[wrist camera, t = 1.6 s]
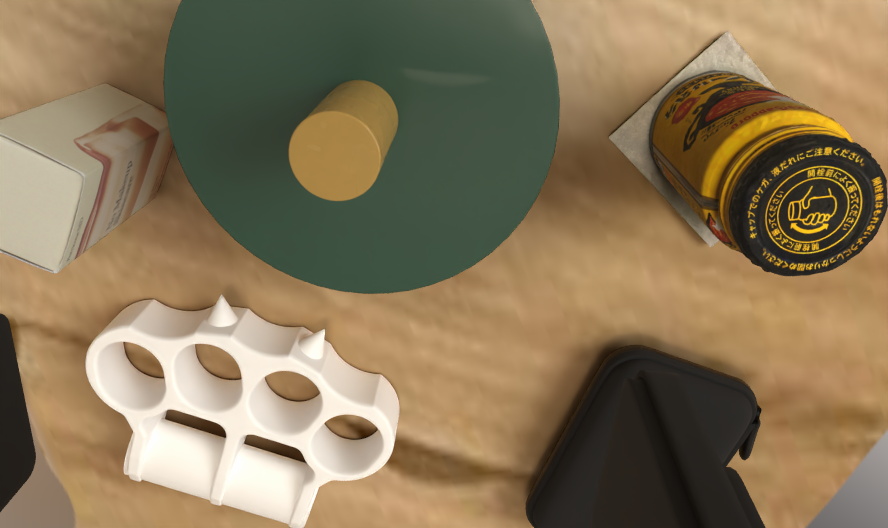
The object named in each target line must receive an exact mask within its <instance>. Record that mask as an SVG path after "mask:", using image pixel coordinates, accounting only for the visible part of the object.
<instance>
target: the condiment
mask: <svg viewBox="0 0 888 528" xmlns="http://www.w3.org/2000/svg"><path fill="white" fill-rule="evenodd" d="M608 138H609V139H610V140H611V141H612V142H613V143H614V144H615V145H616V146H617V147H618V148H619V149H620V151H621V152H622V153H623V154H624V155H625V156H626V157H627V158H628V159H629V160H630V161H631V162H632V163H633V164H634V165H635V166H636V168H637V169H638V170H639V171H640V172H641V173H642V174H643V175H644V176H645V177H646V178H647V179H648V180H649V182H650V183H651V184H652V185H653V186H654V187H655V188H656V189H657V190H658V191H659V192H660V193H661V195H662V196H663V197H664V198H665V199H666V200H667V201H668V202H669V203H670V204H671V205H672V206H673V207H674V208H675V210H676V211H677V212H678V213H679V214H680V215H681V216H682V217H683V218H684V219H685V220H686V221H687V223H688V224H689V225H690V226H691V227H692V228H693V229H694V230H695V231H696V232H697V233H698V234H699V235H700V237H701V238H702V239H703V240H704V241H705V242H706V243H707V244H708V245H709V246H710V247H712V246H713V245H714V244H716V243H717V242H718V241H719V240H720V241H721V242H722V243H724V244H725V245H726V246H728V247H729V248H731V249H733V250H736V251H739V252H741V253H743V254H744V255H745V256H746V257H747V258H748V259H750V260H751V262H752V264H755V265H757V266H760V267H761V268H762V269H763V270H764V271H766V272H772V273H774V274H778V275H782V276H800V275H811V274H816V273H821V272H827V271H830V270H833V269H835V268H836V267H838V266H840V265H842V264H844V263H845V262H847V261H848V260H849V259H851V258H852V257H854V256H855V255H857V254H859V253H860V252H861V251H862V250H863V248H864V247H865V246H866V245H867V244H868V243H869V242H870V241H871V240H872V239H873V238H874V236H875V235H876V234H877V232H878V229H879V227H880V225H881V223H882V221H883V218H884V216H885V214H886V211H887V207H888V204H887V187H886V183H887V180H886V177H885V175H884V173H883V171H882V169H881V168H880V165H879V164H877V162H876V160H875V159H874V158H872V156H871V153H869V152H868V151H867V150H866V149H865V148H862V147H861V146H860V145H859V144H857V143H854V142H853V140H852V138H851V137H850V135H849V134H848V133H847V131H846V130H845V129H844V128H843V127H842V126H841V125H839V124H838V123H837V122H836V121H835V120H834V119H832V118H830V117H827V116H825V115H823V114H821V113H820V112H818V111H817V110H815V109H813V108H810V107H809V106H806V105H805V104H802V103H800V102H797V101H795V100H793V99H791V98H789V97H788V96H786V95H782V94H780V93H779V92H778V91H777V90H776V89H775V88H774V87H773V85H772V84H771V83H770V82H769V80H768V79H767V78H766V77H765V75H764V74H763V73H762V72H761V71H760V69H759V68H758V67H757V66H756V65H755V63H754V62H753V61H752V60H751V59H750V57H749V56H748V55H747V53H746V52H745V51H744V50H743V49H742V48H741V46H740V45H739V44H738V43H737V41H736V40H735V39H734V38H733V36H732V35H731V34H730V32H729V31H727V32H725V33H724V34H723V35H722V36H721V37H720V38H719V39H718V40H716V41H715V42H714V43H713V44H712V45H711V46H710V47H709V48H707V49H706V50H705V51H704V52H703V53H702V54H701V55H699V56H698V57H697V58H696V59H695V60H693V61H692V62H691V63H690V64H689V65H688V66H687V67H685V68H684V69H683V70H682V71H681V72H680V73H679V74H678V75H677V76H675V77H674V78H673V79H672V80H671V81H670V82H669V83H668V84H666V85H665V86H664V87H663V88H662V89H661V90H660V91H659V92H658V93H657V94H655V95H654V96H653V97H652V98H651V99H650V100H649V101H648V102H647V103H646V104H644V105H643V106H642V107H641V108H640V109H639V110H638V111H637V112H636V113H635V114H634V115H633V116H632V117H631V118H630V119H628V120H627V121H626V122H625V123H624V124H623V125H622V126H621V127H620V128H618V129H617V130H616V131H615V132H614V133H613V134H612V135H610V136H609V137H608Z"/></svg>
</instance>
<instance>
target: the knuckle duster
mask: <svg viewBox="0 0 888 528" xmlns="http://www.w3.org/2000/svg"><path fill="white" fill-rule="evenodd" d="M324 336H325V329H323V330H321V331H318V332H316V333H312V332H311V331H309V330H307V329H306V328H304V327H283V326H278V325H275V324H272V323H269V322H267V321H265V320H263V319H261V318H260V317H258V316H257V315H255V314H254V313H253V312H252V311H251V310H250V309H248V308H239V307H230V306H229V304H228V303H227V301H226V300H225V298H224V297H223V295H222V294H221V296H220V298H219V299H218V301H217V303H216V305H214V306H212V307H210V308H208V309H204V310H200V311H182V310H177V309H173V308H170V307H168V306H165V305H163V304H161V303H159V302H158V301H156V300H155V299H151V300H143V301H139V302H136V303H133V304H131V305H129V306H128V307H126V308H125V309H123V310H122V311H121V312H120V313H119V314H118V315H117V316H116V317H115V318H114V319H113V320H112V321H111V322H110V323H109V324H108V325H107V326H106V328H105V329H104V330H103V331H102V332H101V333H100V334H99V335H98V336H97V337H96V338H95V339H94V340H93V342H92V343H91V345H90V347H89V349H88V351H87V355H86V361H85V366H86V373H87V377H88V380H89V382H90V384H91V386H92V388H93V389H94V391H95V392H96V394H97V395H98V396H99V397H100V398H101V399H102V400H103V401H104V402H105V403H106V404H107V405H108V406H110V407H111V408H113V409H114V410H116V411H117V412H119V413H121V414H123V415H124V416H125V418H126V419H127V421H128V423H129V425H130V427H131V428H132V430H133V434H132V437H131V440H130V443H129V446H128V449H127V453H126V457H125V462H124V474H126V475H129V477H130V479H132V480H136V481H141V480H145V481H149V482H152V483H155V484H158V485H162V486H165V487H168V488H171V489H175V490H178V491H181V492H185V493H188V494H191V495H194V496H198V497H201V498H204V499H207V500H210V502H211V503H212V504H215V505H219V506H220V505H221V504H224V505H227V506H231V507H234V508H237V509H240V510H244V511H247V512H250V513H254V514H257V515H260V516H264V517H267V518H270V519H273V520H277V521H280V522H283V523H287V524H288V525H289V527H292V528H304V526H305V523H306V521H307V518H308V516H309V513H310V510H311V508H312V505H313V502H314V499H315V497H316V494H317V491H318V488H319V486H321V485H323V484H325V483H327V482H329V481H331V480H339V481H349V480H357V479H361V478H364V477H367V476H369V475H371V474H373V473H375V472H376V471H378V470H379V469H380V468H381V467H382V466H383V465H384V464H385V463H386V462H387V460H388V459H389V457H390V455H391V453H392V451H393V447H394V442H395V436H396V430H397V424H398V418H399V401H398V397H397V395H396V392H395V390H394V389H393V387H392V385H391V384H390V383H389V382H388V381H387V379H386V378H384V377H383V376H382V375H381V374H372V373H367V372H364V371H361V370H358V369H356V368H354V367H352V366H350V365H349V364H347V363H346V362H345V361H344V360H342V359H341V358H340V357H339V356H338V354H337V353H336V352H335V350H334V349H333V347H332V345H331V344H330V343H329V342H327V341H326V340H324ZM123 342H130V343H134V344H137V345H140V346H142V347H144V348H145V349H147V350H149V351H150V352H151V353H152V354H153V355H154V356H155V357H156V358H157V359H158V360H159V362H160V364H161V366H162V368H163V371H164V378H154V377H150V376H148V375H145V374H143V373H141V372H140V371H138V370H137V369H136V368H135V367H134V366H133V365H132V364H131V363H130V361H129V360H128V358H127V356H126V354H125V349H124V343H123ZM195 344H209V345H213V346H216V347H219V348H221V349H223V350H224V351H226V352H227V353H229V354H230V355H231V356H232V357H233V358H234V359H235V361H236V362H237V364H238V366H239V368H240V371H241V378H242V379H239V380H225V379H221V378H218V377H216V376H214V375H212V374H210V373H209V372H208V371H206V370H205V369H204V368H203V366H202V365H201V364H200V362H199V360H198V358H197V355H196V349H195ZM277 371H292V372H296V373H299V374H301V375H304V376H305V377H307V378H309V379H310V380H311V381H312V382H313V383H314V384H315V385H316V386H317V388H318V389H319V391H320V394H319V395H318V396H316V397H315V398H313V399H311V400H308V401H303V402H295V401H290V400H286V399H284V398H281V397H280V396H278V395H277V394H275V393H274V392H273V391H272V390H271V389H270V388H269V386H268V385H267V383H266V381H265V376H267V375H268V374H271V373H273V372H277ZM169 409H173V410H177V411H180V412H183V413H187V414H190V415H193V416H196V417H199V418H202V419H206V420H209V421H212V422H215V423H217V424H219V425H221V426H222V427H223V428H224V430H225V431H226V438H224V437H220V436H217V435H214V434H211V433H207V432H204V431H201V430H198V429H195V428H191V427H188V426H185V425H182V424H178V423H175V422H172V421H169V420H165V417H166V413H167V410H169ZM345 414H349V415H356V416H360V417H363V418H365V419H367V420H369V421H370V422H372V423H373V424H374V425H375V426H376V427H377V428H378V430H377V431H376V432H375V433H374V434H373V435H371V436H369V437H367V438H364V439H359V440H350V439H345V438H342V437H339V436H337V435H335V434H334V433H332V432H331V431H330V430H329V429H328V428H327V427H326V425H325V424H324V423H325V422H326V421H327V420H328V419H330V418H332V417H335V416H338V415H345ZM247 435H257V436H260V437H263V438H266V439H269V440H272V441H276V442H279V443H282V444H285V445H288V446H291V447H295V448H297V449H298V450H300V451H301V453H302V454H303V457H304V459H305V461H306V462H307V463H304V462H301V461H297V460H294V459H291V458H288V457H285V456H281V455H278V454H275V453H272V452H269V451H265V450H262V449H259V448H256V447H252V446H249V445H246V444H244V442H245V439H246V436H247Z"/></svg>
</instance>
